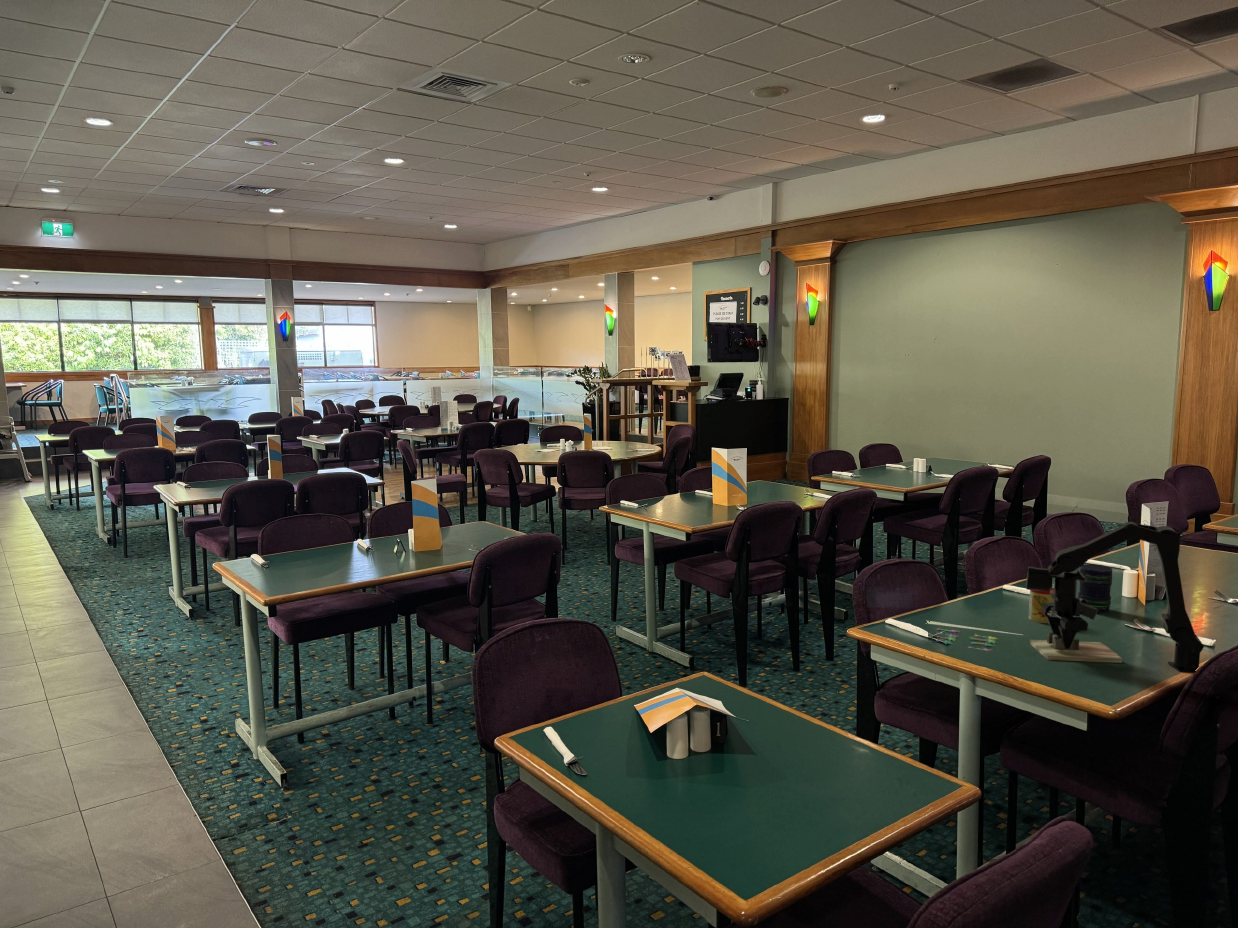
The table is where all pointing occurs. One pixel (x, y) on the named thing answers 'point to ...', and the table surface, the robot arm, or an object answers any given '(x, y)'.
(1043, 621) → the canned food
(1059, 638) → the c link
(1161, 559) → the robot arm
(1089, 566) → the storage jar
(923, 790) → the table surface
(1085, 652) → the board
